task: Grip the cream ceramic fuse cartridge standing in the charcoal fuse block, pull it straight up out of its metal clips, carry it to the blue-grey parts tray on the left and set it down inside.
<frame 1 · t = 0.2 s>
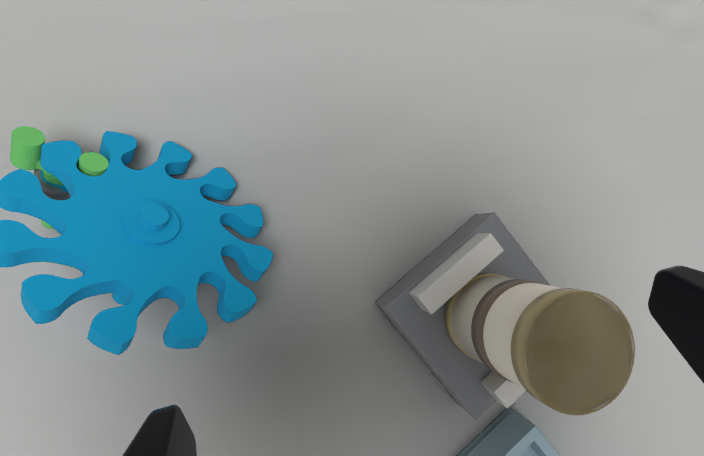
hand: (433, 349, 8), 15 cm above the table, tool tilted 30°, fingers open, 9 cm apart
gear: (160, 224, 22), on the table
fuse block: (467, 308, 24), on the table
fuse: (484, 315, 22), point 2 cm above the table, touching fuse block
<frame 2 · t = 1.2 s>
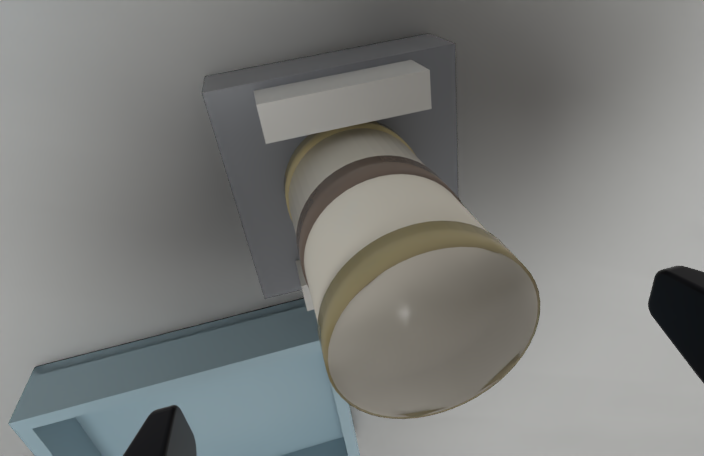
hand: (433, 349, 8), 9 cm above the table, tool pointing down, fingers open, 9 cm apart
tray: (217, 404, 20), on the table
fuse block: (337, 159, 16), on the table
fuse: (350, 183, 14), point 2 cm above the table, touching fuse block
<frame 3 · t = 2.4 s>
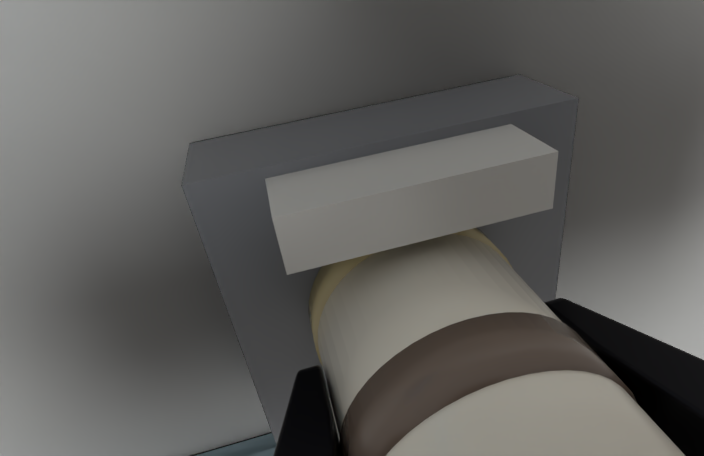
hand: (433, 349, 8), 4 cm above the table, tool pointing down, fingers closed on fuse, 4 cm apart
fuse block: (380, 247, 11), on the table
fuse: (406, 298, 10), point 2 cm above the table, touching fuse block, gripper
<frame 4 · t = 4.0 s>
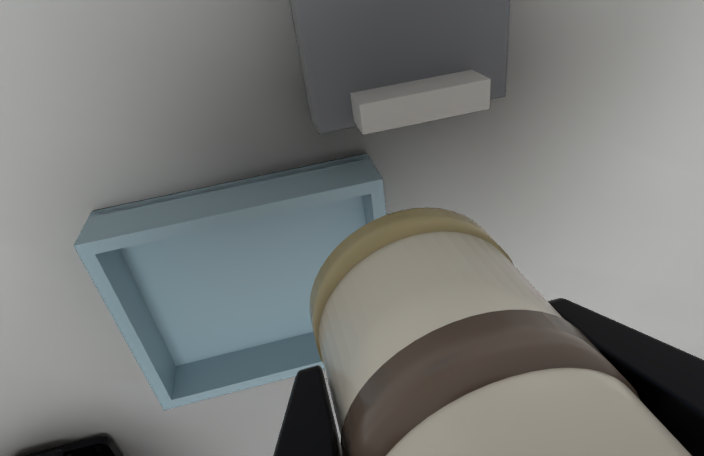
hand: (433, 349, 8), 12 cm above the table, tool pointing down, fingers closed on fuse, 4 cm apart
tray: (260, 269, 21), on the table
fuse block: (390, 2, 17), on the table
fuse: (407, 296, 10), point 10 cm above the table, touching gripper
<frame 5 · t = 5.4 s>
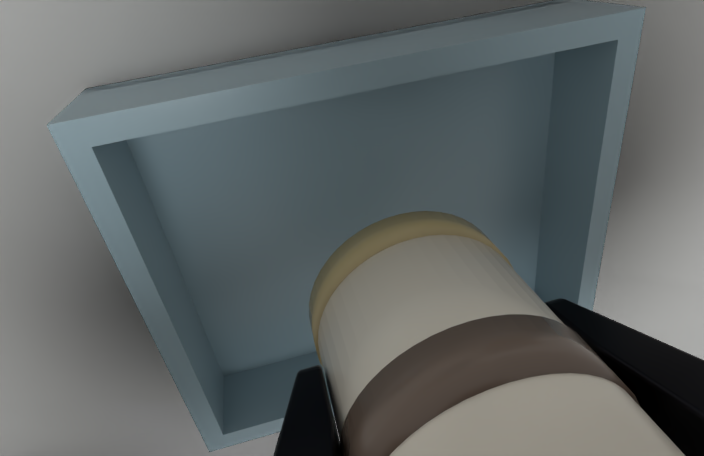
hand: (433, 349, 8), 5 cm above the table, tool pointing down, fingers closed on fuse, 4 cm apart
tray: (365, 213, 13), on the table
fuse: (407, 299, 10), point 4 cm above the table, touching gripper
when the fingers open (4 cm above the table, at t = 5.9 s): fuse drops 2 cm, resting on tray.
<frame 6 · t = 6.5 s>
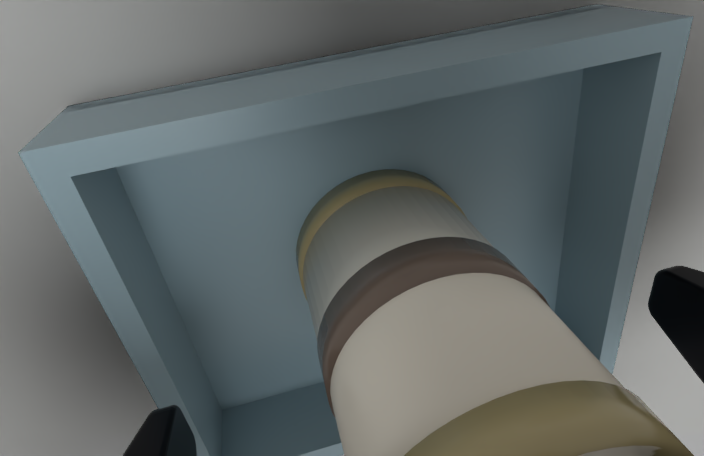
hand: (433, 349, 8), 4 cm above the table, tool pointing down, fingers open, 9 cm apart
tray: (375, 236, 12), on the table
fuse: (380, 247, 11), point 1 cm above the table, touching tray
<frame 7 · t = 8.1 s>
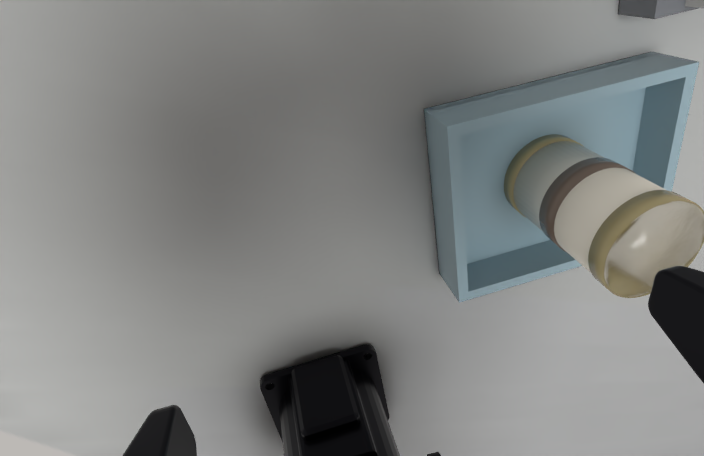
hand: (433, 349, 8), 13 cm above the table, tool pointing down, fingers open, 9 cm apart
tray: (537, 171, 23), on the table
fuse: (542, 175, 23), resting on tray
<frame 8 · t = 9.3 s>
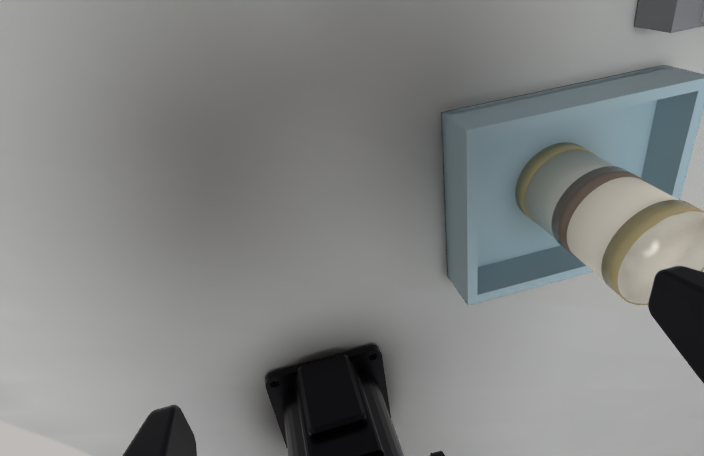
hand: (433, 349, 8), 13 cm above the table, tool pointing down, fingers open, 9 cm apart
tray: (548, 178, 23), on the table
fuse: (553, 182, 23), resting on tray
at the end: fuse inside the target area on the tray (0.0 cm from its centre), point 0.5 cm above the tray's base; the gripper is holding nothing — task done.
